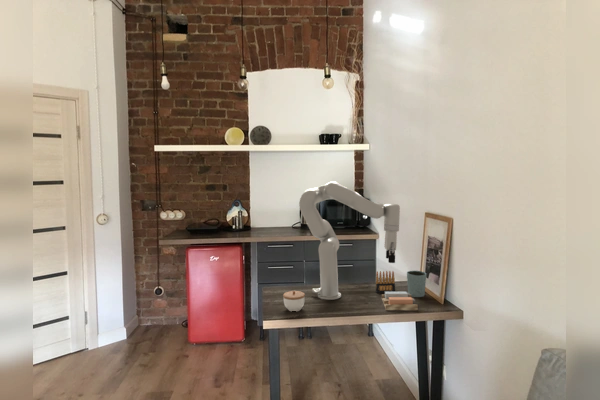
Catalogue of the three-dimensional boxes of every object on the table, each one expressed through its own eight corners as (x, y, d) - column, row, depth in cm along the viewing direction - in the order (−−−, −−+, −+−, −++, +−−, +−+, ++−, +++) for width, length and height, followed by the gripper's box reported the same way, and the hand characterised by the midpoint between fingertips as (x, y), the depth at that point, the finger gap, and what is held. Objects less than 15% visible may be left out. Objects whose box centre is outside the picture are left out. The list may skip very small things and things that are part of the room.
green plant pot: (406, 291, 209) (405, 270, 208) (425, 292, 207) (425, 270, 206) (407, 297, 199) (407, 275, 198) (427, 298, 197) (427, 275, 196)
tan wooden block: (389, 306, 183) (389, 299, 183) (388, 304, 187) (388, 297, 186) (415, 306, 182) (415, 299, 182) (413, 304, 185) (413, 297, 185)
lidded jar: (307, 306, 190) (306, 288, 190) (302, 313, 180) (302, 294, 179) (286, 305, 193) (286, 287, 192) (281, 312, 182) (280, 293, 182)
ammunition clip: (394, 291, 211) (394, 270, 210) (395, 292, 209) (395, 271, 208) (375, 291, 211) (375, 270, 210) (376, 292, 209) (375, 271, 208)
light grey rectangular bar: (385, 300, 192) (385, 293, 192) (384, 298, 196) (384, 291, 195) (410, 300, 191) (410, 293, 191) (408, 298, 194) (408, 291, 194)
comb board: (385, 310, 182) (385, 305, 181) (381, 299, 198) (381, 294, 197) (417, 310, 180) (417, 305, 180) (410, 299, 196) (410, 294, 196)
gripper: (382, 225, 203) (381, 256, 204) (386, 230, 185) (385, 264, 187) (396, 225, 202) (395, 257, 203) (401, 230, 185) (400, 264, 186)
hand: (390, 260), depth 195 cm, fingers open, 9 cm apart
